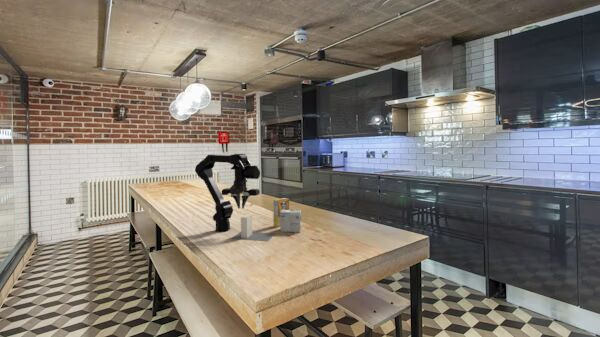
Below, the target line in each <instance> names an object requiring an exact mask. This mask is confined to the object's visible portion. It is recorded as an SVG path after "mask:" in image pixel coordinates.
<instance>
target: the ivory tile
mask: <svg viewBox="0 0 600 337" xmlns="http://www.w3.org/2000/svg"><path fill="white" fill-rule="evenodd" d="M240 232H241V238H248V237H249V236H250V235H252V232H253V214H244V215H243V216H241V217H240Z"/></svg>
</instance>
